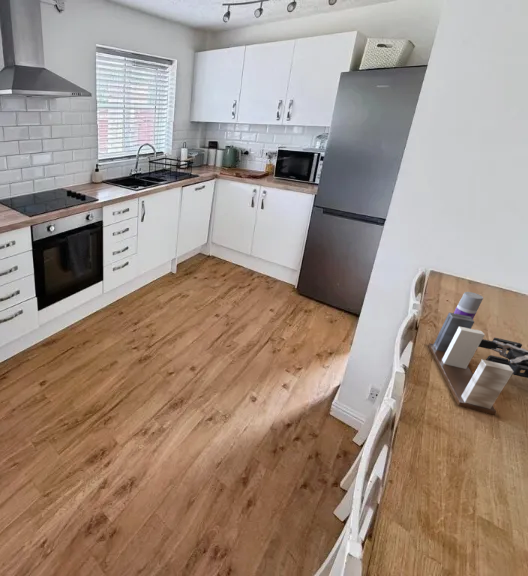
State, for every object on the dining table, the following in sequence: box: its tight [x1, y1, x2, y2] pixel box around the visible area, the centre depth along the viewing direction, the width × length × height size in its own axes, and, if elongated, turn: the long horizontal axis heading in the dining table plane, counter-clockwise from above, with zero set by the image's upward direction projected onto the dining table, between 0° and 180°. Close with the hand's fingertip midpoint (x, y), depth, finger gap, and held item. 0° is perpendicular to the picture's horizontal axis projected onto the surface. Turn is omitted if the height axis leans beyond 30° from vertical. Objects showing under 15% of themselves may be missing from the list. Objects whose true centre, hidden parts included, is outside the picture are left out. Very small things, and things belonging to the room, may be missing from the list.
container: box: [453, 291, 484, 320], centre depth 111 cm, size 5×5×15 cm
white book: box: [442, 326, 486, 369], centre depth 98 cm, size 5×2×11 cm, turn 68°
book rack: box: [427, 312, 514, 416], centre depth 95 cm, size 7×27×12 cm, turn 158°
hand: (481, 350), depth 96 cm, fingers open, 8 cm apart
